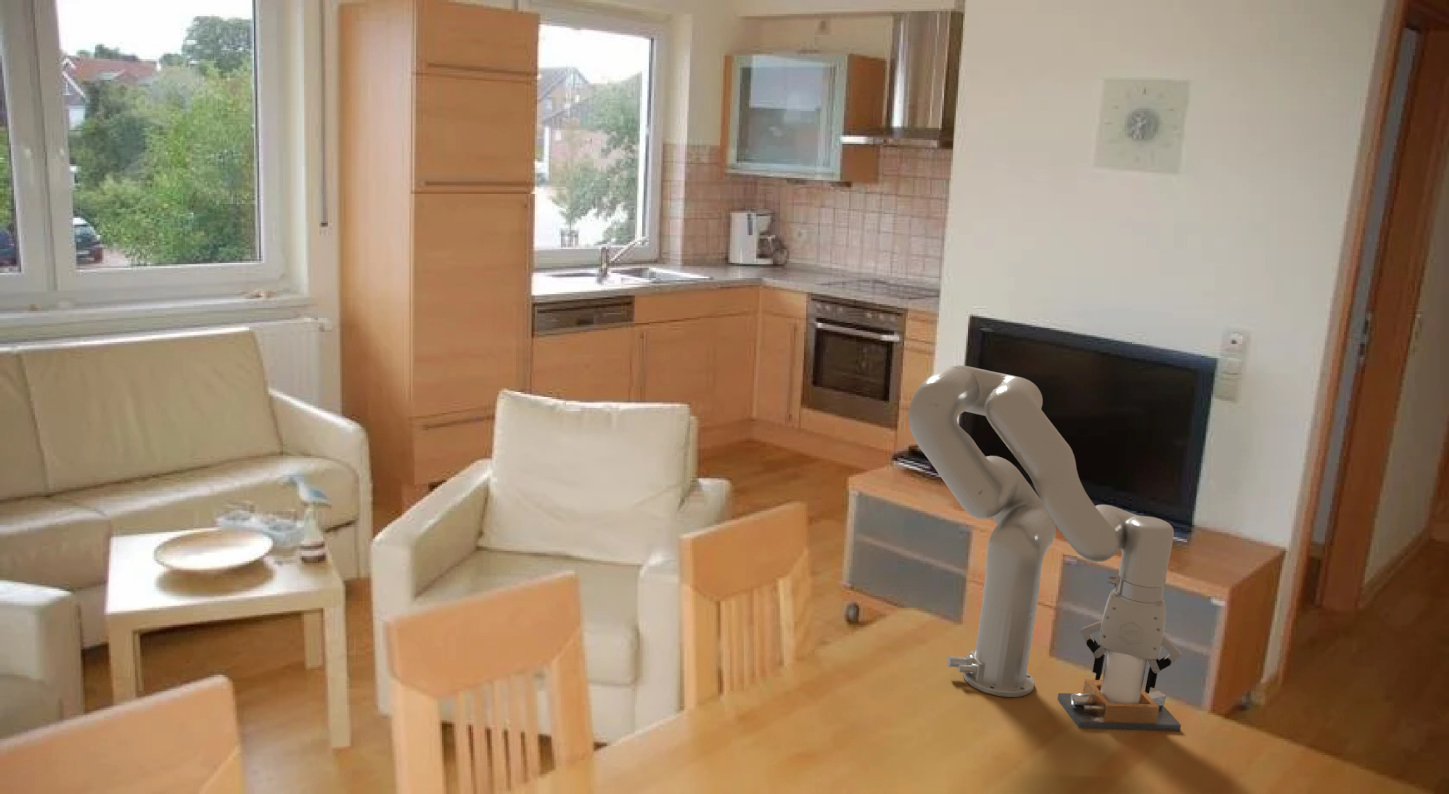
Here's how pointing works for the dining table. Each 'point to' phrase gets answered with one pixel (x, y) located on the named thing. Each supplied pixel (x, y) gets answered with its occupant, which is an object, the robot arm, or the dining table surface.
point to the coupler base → (1117, 710)
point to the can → (1123, 678)
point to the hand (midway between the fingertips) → (1122, 683)
